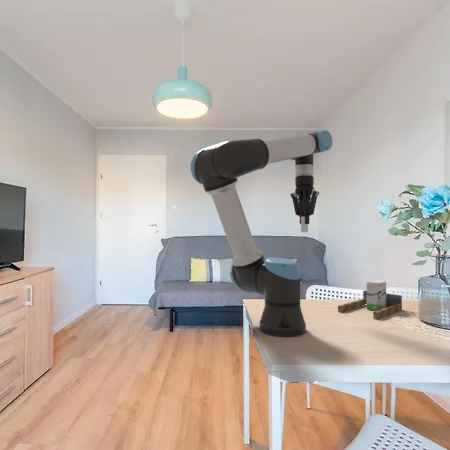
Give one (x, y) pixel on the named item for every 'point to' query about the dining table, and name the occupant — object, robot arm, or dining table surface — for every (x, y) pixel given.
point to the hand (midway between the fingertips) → (304, 232)
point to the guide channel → (391, 307)
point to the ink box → (376, 295)
